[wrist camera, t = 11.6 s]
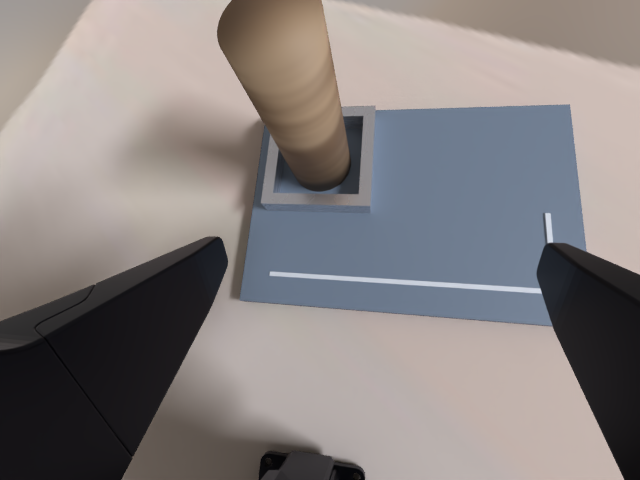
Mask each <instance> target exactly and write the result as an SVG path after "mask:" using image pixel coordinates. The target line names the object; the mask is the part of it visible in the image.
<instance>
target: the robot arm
mask: <svg viewBox="0 0 640 480" xmlns="http://www.w3.org/2000/svg"><path fill="white" fill-rule="evenodd" d="M227 266H228V258H227V255H226V251H225V247H224V244H223V241H222V239H221V238H220V237H210V236H209V237H205V238H203V239H200V240H198V241H196V242H193V243H191V244H188V245H186V246H184V247H181V248H179V249H177V250H174V251H172V252H170V253H167V254H165V255H162V256H160V257H158V258H155V259H153V260H151V261H148V262H146V263H144V264H141V265H139V266H136V267H134V268H132V269H129V270H127V271H125V272H122V273H120V274H118V275H115V276H113V277H110V278H108V279H106V280H103V281H101V282H99V283H97V284H96V285H91V286H89V287H87V288H84V289H82V290H80V291H77V292H75V293H72V294H70V295H67V296H65V297H62V298H60V299H58V300H55V301H52V302H50V303H47V304H45V305H42V306H40V307H37V308H34V309H32V310H29V311H26V312H24V313H21V314H19V315H16V316H13V317H11V318H8V319H5V320H3V321H0V480H121V479H122V477H123V475H124V473H125V471H126V469H127V468H128V466H129V464H130V462H131V460H132V456H134V454H135V452H136V450H137V448H138V446H139V444H140V442H141V440H142V439H143V437H144V435H145V433H146V431H147V429H148V427H149V425H150V423H151V421H152V419H153V418H154V416H155V414H156V412H157V410H158V408H159V406H160V404H161V402H162V400H163V398H164V397H165V395H166V393H167V391H168V389H169V387H170V385H171V383H172V381H173V379H174V377H175V376H176V374H177V372H178V370H179V368H180V366H181V364H182V362H183V360H184V358H185V356H186V355H187V353H188V351H189V349H190V347H191V345H192V343H193V341H194V339H195V337H196V335H197V334H198V332H199V330H200V328H201V326H202V324H203V322H204V320H205V318H206V316H207V314H208V313H209V311H210V308H211V306H212V304H213V302H214V299H215V297H216V294H217V292H218V289H219V287H220V284H221V282H222V279H223V276H224V274H225V271H226V269H227ZM536 275H537V280H538V283H539V286H540V289H541V292H542V295H543V299H544V302H545V305H546V308H547V311H548V314H549V317H550V320H551V323H552V326H553V329H554V331H555V333H556V335H557V338H558V340H559V342H560V344H561V346H562V348H563V350H564V352H565V355H566V357H567V359H568V361H569V363H570V365H571V367H572V369H573V372H574V374H575V376H576V378H577V380H578V382H579V384H580V386H581V389H582V391H583V393H584V395H585V397H586V399H587V401H588V403H589V406H590V408H591V410H592V412H593V414H594V416H595V418H596V420H597V423H598V425H599V427H600V429H601V431H602V433H603V435H604V437H605V440H606V442H607V444H608V446H609V448H610V450H611V452H612V454H613V457H614V459H615V461H616V463H617V465H618V467H619V469H620V471H621V474H622V476H623V478H624V480H640V275H639V274H637V273H634V272H632V271H630V270H627V269H625V268H623V267H620V266H618V265H616V264H613V263H611V262H609V261H607V260H604V259H602V258H600V257H597V256H595V255H593V254H590V253H588V252H586V251H583V250H581V249H579V248H576V247H574V246H572V245H569V244H567V243H547V244H546V245H545V246H544V248H543V251H542V254H541V257H540V260H539V264H538V267H537V272H536ZM267 458H270V459H271V460H272V464H268V463H267V461H266V459H267ZM354 473H358V474H359V475H360V477H361V478H360V479H359V480H365V472H364V470H363V469H362V468H361V467H359V466H356V465H350V464H344V463H338V462H334V460H333V459H332V457H330V456H324V455H318V454H312V453H306V452H300V451H292V452H291V453H290V454H285V453H279V452H273V451H268V452H266V453H265V454H264V455H263V457H262V458H261V462H260V471H259V480H356V479H354V478H353V474H354Z"/></svg>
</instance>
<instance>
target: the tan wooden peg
mask: <svg viewBox="0 0 640 480" xmlns="http://www.w3.org/2000/svg"><path fill="white" fill-rule="evenodd" d="M217 37H218V42H219V45H220V48H221V50H222V51H223V53H224V55H225V57H226V58H227V60H228V62H229V63H230V65H231V67H232V69H233V70H234V72H235V74H236V76H237V77H238V79H239V81H240V82H241V84H242V86H243V88H244V89H245V91H246V93H247V95H248V96H249V98H250V100H251V101H252V103H253V105H254V107H255V108H256V110H257V112H258V114H259V115H260V117H261V119H262V121H263V122H264V124H265V126H266V127H267V129H268V131H269V133H270V134H271V136H272V138H273V140H274V141H275V143H276V145H277V146H278V148H279V150H280V152H281V153H282V155H283V157H284V159H285V160H286V162H287V164H288V165H289V167H290V169H291V171H292V172H293V174H294V176H295V178H296V179H297V181H298V182H299V183H300V184H301V185H302V186H303V187H304V188H306V189H309V190H311V191H317V192H322V191H328V190H331V189H333V188H335V187H337V186H338V185H340V184H341V183H342V182H343V181H344V180H345V178H346V177H347V175H348V173H349V171H350V167H351V158H350V152H349V147H348V141H347V136H346V130H345V125H344V119H343V114H342V108H341V103H340V98H339V92H338V87H337V81H336V76H335V70H334V65H333V59H332V54H331V48H330V43H329V37H328V32H327V26H326V21H325V16H324V10H323V5H322V1H321V0H232V1H231V2H230V3H229V4H228V6H227V7H226V8H225V10H224V12H223V13H222V16H221V18H220V20H219V24H218V29H217Z"/></svg>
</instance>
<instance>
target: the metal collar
mask: <svg viewBox="0 0 640 480" xmlns="http://www.w3.org/2000/svg"><path fill="white" fill-rule="evenodd" d="M341 108H342V114H343V119H344V125H345V128H363V133H362V149H361V165H360V182H359V194H307V193H280V190H281V182H282V173H283V165H284V157H283V155H282V153H281V152H280V150H279V148H278V146H277V145H276V143H275V141H274V140H273V138H272V136H271V134H270V140H269V147H268V154H267V162H266V169H265V176H264V183H263V191H262V198H261V204H262V205H263V206H264V207H265V208H266V209H267V210H268V211H301V212H338V213H371V196H372V176H373V157H374V137H375V106H351V107H341Z"/></svg>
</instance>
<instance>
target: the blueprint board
mask: <svg viewBox="0 0 640 480" xmlns="http://www.w3.org/2000/svg"><path fill="white" fill-rule="evenodd" d="M345 130H346V136H347V141H348V147H349V152H350V158H351V167H350V171H349V173H348V175H347V177H346V178H345V180H344V181H343V182H342V183H341V184H340V185H338V186H337V187H335V188H333V189H331V190H328V191H322V192H317V191H311V190H309V189H306V188H304V187H303V186H302V185H301V184H300V183H299V182H298V181H297V179H296V178H295V176H294V174H293V172H292V171H291V169H290V167H289V165H288V164H287V162H286V160H285V159H284V165H283V173H282V182H281V190H280V193H307V194H359V182H360V165H361V149H362V133H363V128H345ZM269 140H270V133H269V131H268V129H267V127H266V126H264V133H263V140H262V147H261V154H260V161H259V168H258V175H257V182H256V189H255V196H254V203H253V210H252V217H251V224H250V231H249V237H248V244H247V251H246V258H245V265H244V272H243V279H242V286H241V293H240V300H241V301H248V302H261V303H273V304H285V305H297V306H310V307H322V308H334V309H346V310H359V311H371V312H383V313H395V314H408V315H420V316H432V317H444V318H456V319H469V320H481V321H493V322H505V323H518V324H530V325H542V326H552V323H551V320H550V317H549V314H548V311H547V308H546V305H545V302H544V299H543V295H542V292H541V289H540V286H539V283H538V280H537V275H536V272H537V267H538V264H539V260H540V257H541V254H542V251H543V248H544V246H545V245H546V244H547V243H567V244H569V245H572V246H574V247H576V248H579V249H581V250H583V251H586V243H585V234H584V225H583V216H582V207H581V199H580V190H579V181H578V172H577V163H576V154H575V146H574V137H573V128H572V119H571V110H570V105H539V106H506V107H473V108H440V109H407V110H375V137H374V157H373V176H372V196H371V213H338V212H301V211H268V210H267V209H266V208H265V207H264V206H263V205H262V204H261V198H262V191H263V183H264V176H265V169H266V162H267V154H268V147H269ZM586 252H587V251H586Z"/></svg>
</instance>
